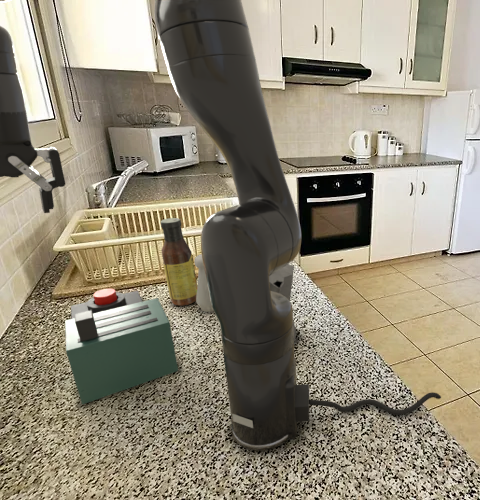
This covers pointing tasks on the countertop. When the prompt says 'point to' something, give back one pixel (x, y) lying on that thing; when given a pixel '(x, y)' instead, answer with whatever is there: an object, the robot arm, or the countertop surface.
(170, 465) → the countertop surface
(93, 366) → the toaster
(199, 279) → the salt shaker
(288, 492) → the countertop surface
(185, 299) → the sauce bottle
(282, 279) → the coffeepot
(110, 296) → the button
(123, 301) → the button base
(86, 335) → the toaster slider
